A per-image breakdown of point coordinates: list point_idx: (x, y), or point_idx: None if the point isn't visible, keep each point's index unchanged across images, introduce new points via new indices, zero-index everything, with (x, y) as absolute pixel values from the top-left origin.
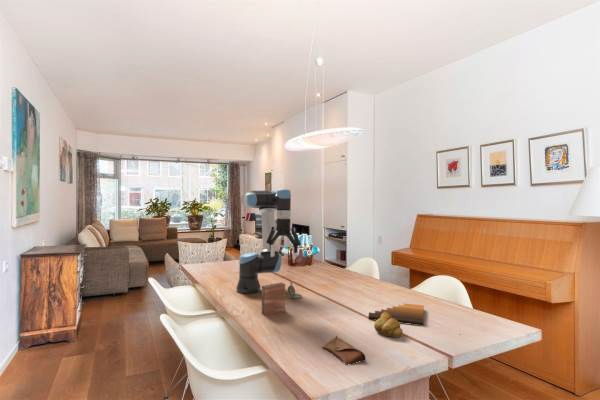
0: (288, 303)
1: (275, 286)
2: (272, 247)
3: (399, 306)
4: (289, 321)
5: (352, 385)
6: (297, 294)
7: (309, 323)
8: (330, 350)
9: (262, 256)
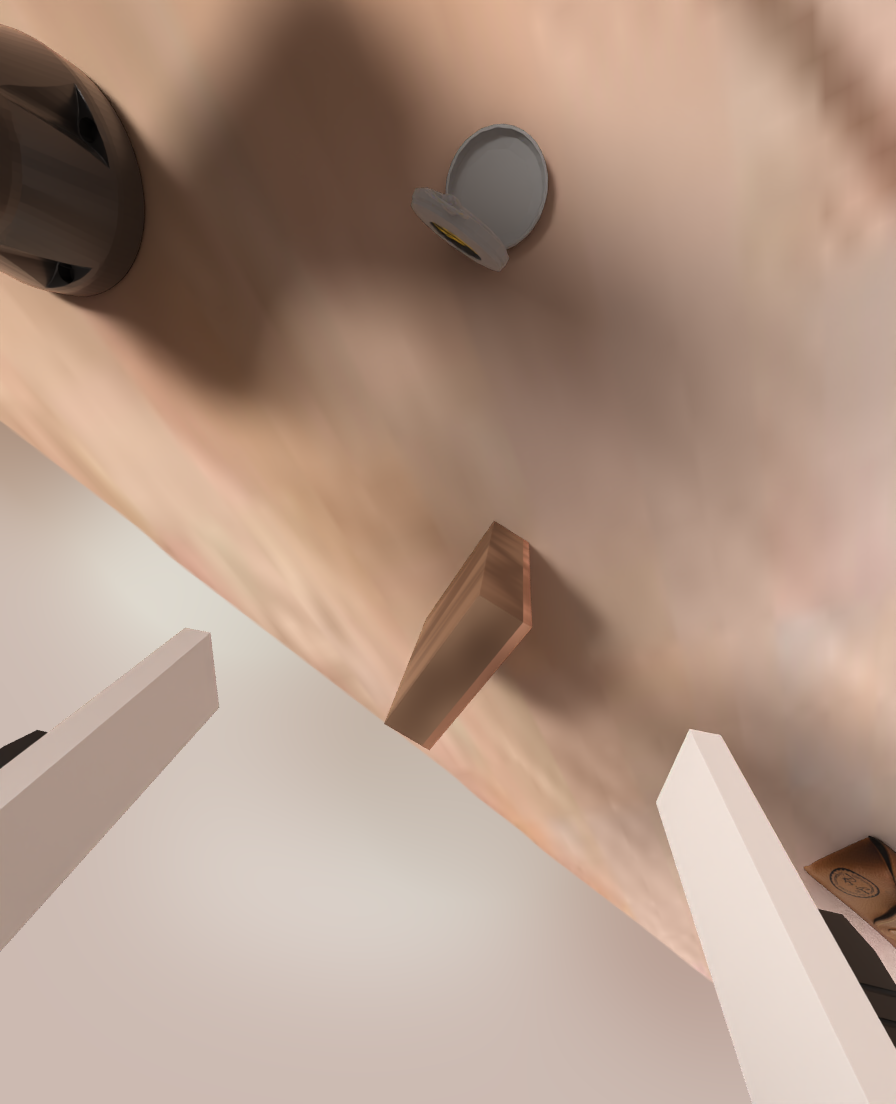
0: (496, 395)
1: (476, 690)
2: (45, 870)
3: None
4: (606, 680)
5: None
6: (490, 129)
7: (719, 681)
8: (848, 906)
9: None
